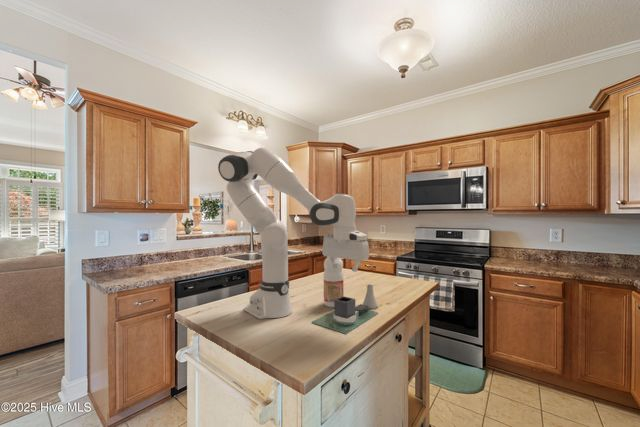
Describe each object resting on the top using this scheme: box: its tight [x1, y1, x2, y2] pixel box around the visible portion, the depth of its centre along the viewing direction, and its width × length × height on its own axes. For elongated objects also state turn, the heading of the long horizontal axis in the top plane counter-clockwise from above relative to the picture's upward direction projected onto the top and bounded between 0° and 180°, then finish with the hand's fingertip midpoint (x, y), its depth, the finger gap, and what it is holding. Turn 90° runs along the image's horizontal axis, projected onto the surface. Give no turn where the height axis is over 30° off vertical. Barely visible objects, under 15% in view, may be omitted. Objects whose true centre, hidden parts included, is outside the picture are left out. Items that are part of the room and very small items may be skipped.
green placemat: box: [311, 303, 379, 335], centre depth 112 cm, size 16×25×7 cm, turn 141°
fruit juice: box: [323, 256, 344, 308], centre depth 129 cm, size 9×9×28 cm
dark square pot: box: [333, 295, 356, 319], centre depth 108 cm, size 6×6×6 cm
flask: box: [362, 283, 379, 310], centre depth 126 cm, size 7×7×10 cm
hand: (344, 269), depth 108 cm, fingers open, 8 cm apart
